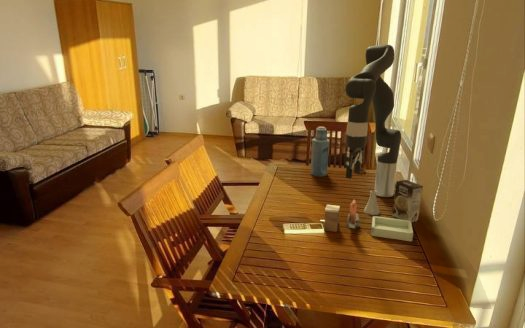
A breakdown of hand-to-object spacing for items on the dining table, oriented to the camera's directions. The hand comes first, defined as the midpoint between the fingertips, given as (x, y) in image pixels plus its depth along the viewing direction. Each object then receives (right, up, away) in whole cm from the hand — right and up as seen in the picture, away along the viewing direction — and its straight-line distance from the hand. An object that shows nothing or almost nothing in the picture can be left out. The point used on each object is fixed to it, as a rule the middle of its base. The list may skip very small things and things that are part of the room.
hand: (352, 175), depth 139 cm
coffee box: (+27, -19, +19) cm, 39 cm away
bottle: (-2, -4, +73) cm, 73 cm away
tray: (+17, -23, +6) cm, 29 cm away
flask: (+15, -18, +25) cm, 34 cm away
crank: (+2, -20, +7) cm, 21 cm away
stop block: (-7, -22, +9) cm, 24 cm away
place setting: (+24, -3, +81) cm, 84 cm away
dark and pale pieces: (-2, -20, +14) cm, 25 cm away
